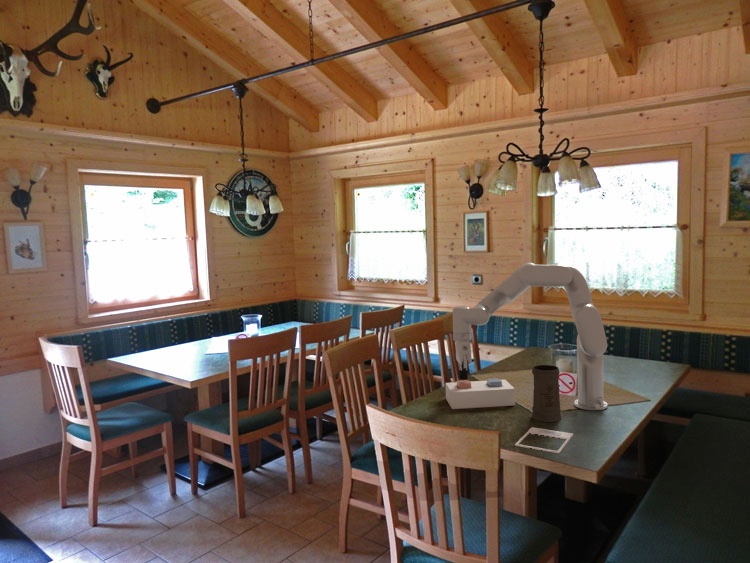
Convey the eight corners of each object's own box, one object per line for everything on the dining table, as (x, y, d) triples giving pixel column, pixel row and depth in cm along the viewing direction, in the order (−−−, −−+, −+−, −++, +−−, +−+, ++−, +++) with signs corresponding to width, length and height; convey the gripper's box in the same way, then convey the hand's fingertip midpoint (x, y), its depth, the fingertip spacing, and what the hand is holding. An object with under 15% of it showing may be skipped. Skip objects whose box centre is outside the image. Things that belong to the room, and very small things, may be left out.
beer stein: (567, 421, 210) (565, 368, 209) (540, 424, 208) (538, 370, 207) (548, 411, 225) (546, 361, 224) (523, 413, 223) (520, 363, 223)
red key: (471, 392, 234) (470, 383, 234) (459, 393, 234) (458, 383, 233) (468, 389, 239) (468, 380, 239) (456, 389, 239) (456, 380, 238)
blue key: (502, 390, 235) (501, 381, 234) (490, 391, 234) (489, 382, 234) (498, 387, 240) (498, 378, 239) (487, 388, 239) (487, 378, 239)
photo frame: (573, 433, 196) (559, 451, 181) (573, 436, 196) (559, 454, 181) (531, 426, 204) (514, 443, 189) (532, 429, 204) (515, 447, 190)
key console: (515, 405, 231) (514, 388, 230) (452, 409, 230) (451, 392, 229) (505, 395, 245) (505, 379, 244) (446, 398, 244) (445, 382, 243)
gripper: (475, 339, 227) (476, 383, 229) (467, 332, 242) (468, 374, 244) (456, 340, 227) (458, 384, 228) (450, 333, 241) (451, 375, 243)
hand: (463, 379), depth 236 cm, fingers closed
